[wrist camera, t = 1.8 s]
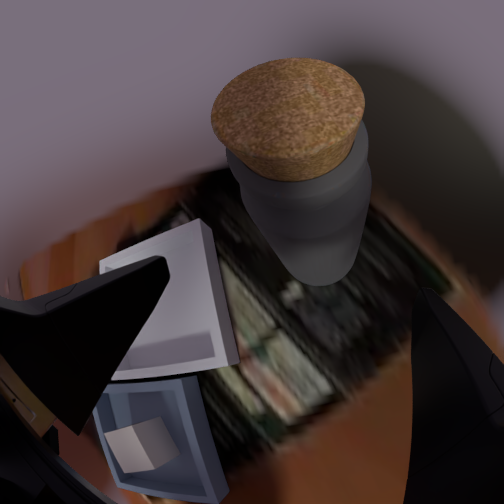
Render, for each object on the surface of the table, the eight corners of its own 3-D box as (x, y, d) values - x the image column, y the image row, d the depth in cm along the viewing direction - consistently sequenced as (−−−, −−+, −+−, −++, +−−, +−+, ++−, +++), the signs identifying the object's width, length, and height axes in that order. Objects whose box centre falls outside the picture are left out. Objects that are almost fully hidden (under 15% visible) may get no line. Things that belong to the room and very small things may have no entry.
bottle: (280, 219, 22) (203, 68, 9) (351, 212, 21) (354, 43, 7) (283, 289, 21) (180, 192, 7) (360, 283, 19) (413, 164, 5)
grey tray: (240, 362, 20) (228, 365, 17) (129, 378, 22) (111, 380, 20) (211, 229, 24) (199, 218, 22) (115, 267, 26) (99, 260, 24)
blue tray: (229, 491, 16) (218, 504, 14) (132, 480, 18) (117, 487, 16) (196, 375, 20) (181, 378, 18) (104, 383, 23) (87, 385, 20)
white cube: (180, 454, 18) (155, 469, 14) (150, 460, 18) (124, 473, 15) (160, 415, 20) (131, 424, 16) (132, 424, 20) (103, 432, 16)
